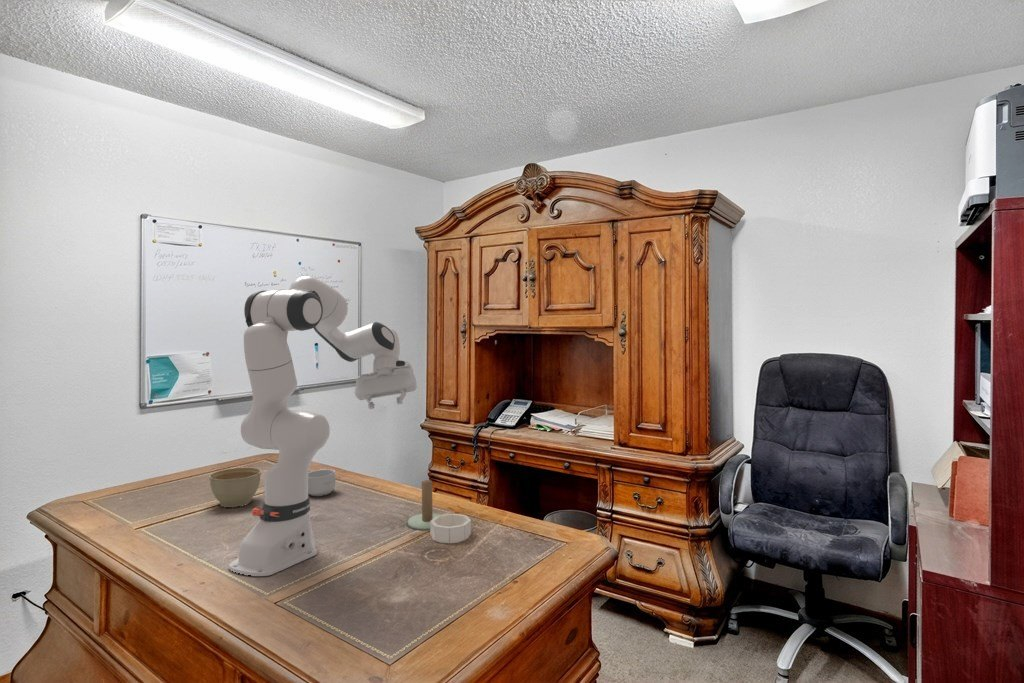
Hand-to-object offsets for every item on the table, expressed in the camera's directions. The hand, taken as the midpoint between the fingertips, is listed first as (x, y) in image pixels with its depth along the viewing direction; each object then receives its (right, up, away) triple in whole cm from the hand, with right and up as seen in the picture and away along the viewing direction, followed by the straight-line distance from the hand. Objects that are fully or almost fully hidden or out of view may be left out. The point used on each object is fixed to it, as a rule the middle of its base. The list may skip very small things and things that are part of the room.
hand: (385, 405), depth 176 cm
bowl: (+23, -36, -18) cm, 47 cm away
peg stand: (+15, -35, -7) cm, 39 cm away
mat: (+15, -36, -7) cm, 40 cm away
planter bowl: (-55, -36, +14) cm, 67 cm away
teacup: (-30, -36, +26) cm, 53 cm away
